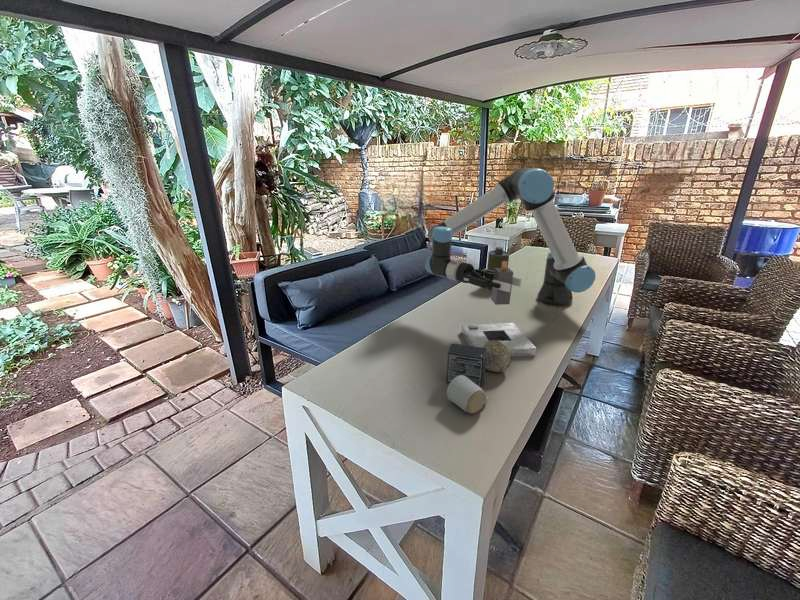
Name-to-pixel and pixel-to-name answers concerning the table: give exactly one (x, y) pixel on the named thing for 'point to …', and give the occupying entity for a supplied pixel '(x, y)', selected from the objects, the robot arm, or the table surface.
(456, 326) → the table surface
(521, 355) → the socket
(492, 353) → the stone
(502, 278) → the plug
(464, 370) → the small box
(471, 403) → the white short cylinder
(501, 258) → the canister
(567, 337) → the table surface
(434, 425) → the table surface
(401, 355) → the table surface
